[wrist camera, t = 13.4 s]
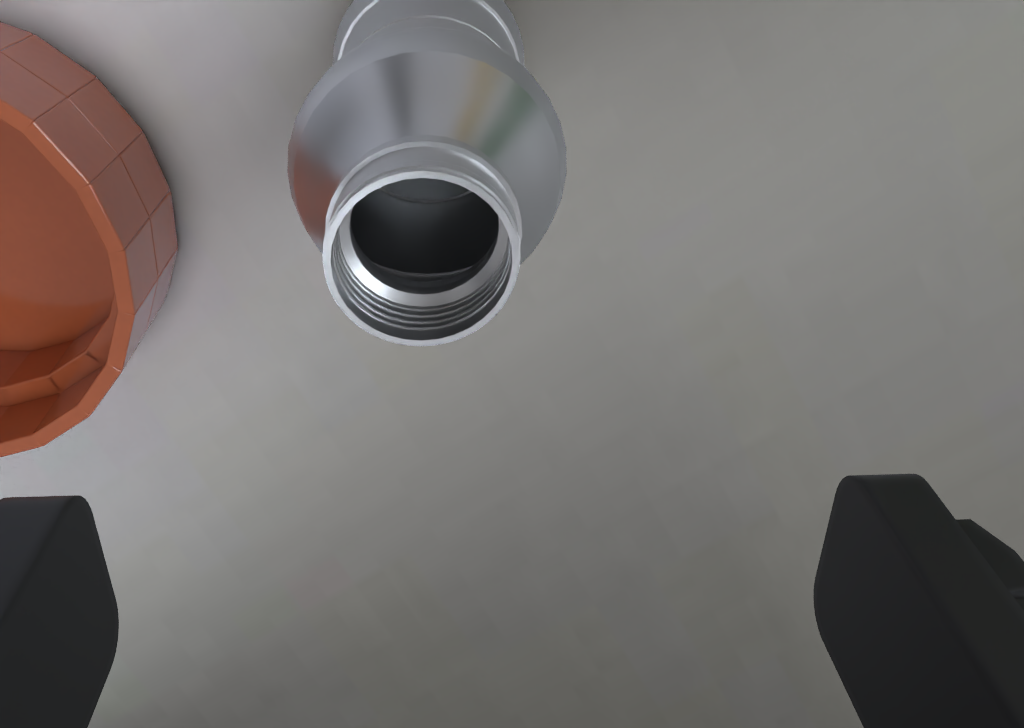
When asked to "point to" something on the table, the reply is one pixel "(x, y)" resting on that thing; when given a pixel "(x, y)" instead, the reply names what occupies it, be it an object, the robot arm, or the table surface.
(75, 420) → the bowl
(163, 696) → the table surface
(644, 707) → the table surface
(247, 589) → the table surface
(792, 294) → the table surface
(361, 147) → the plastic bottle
